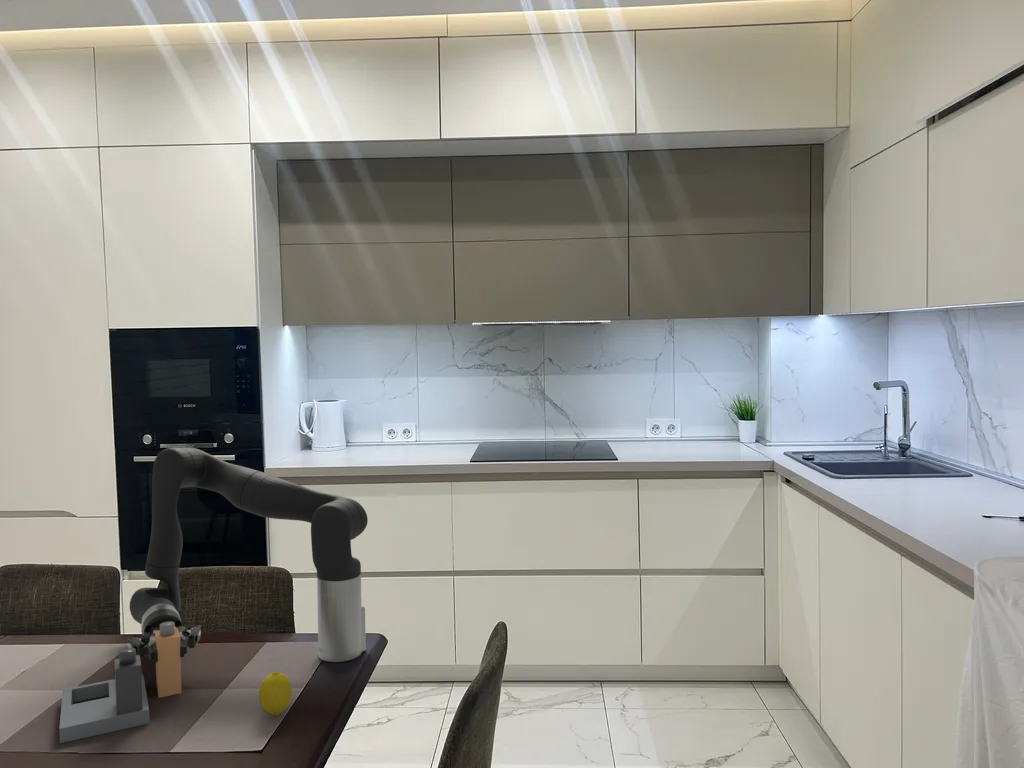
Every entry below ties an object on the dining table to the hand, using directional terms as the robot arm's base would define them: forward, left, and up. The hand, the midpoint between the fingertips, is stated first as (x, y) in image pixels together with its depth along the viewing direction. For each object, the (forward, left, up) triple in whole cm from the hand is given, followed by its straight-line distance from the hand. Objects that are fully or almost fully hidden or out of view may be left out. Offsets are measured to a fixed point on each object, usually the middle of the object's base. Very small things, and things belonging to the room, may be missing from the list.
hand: (169, 654), depth 142 cm
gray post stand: (+11, -3, -8) cm, 14 cm away
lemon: (-7, +23, -8) cm, 25 cm away
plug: (-1, -3, -8) cm, 8 cm away
